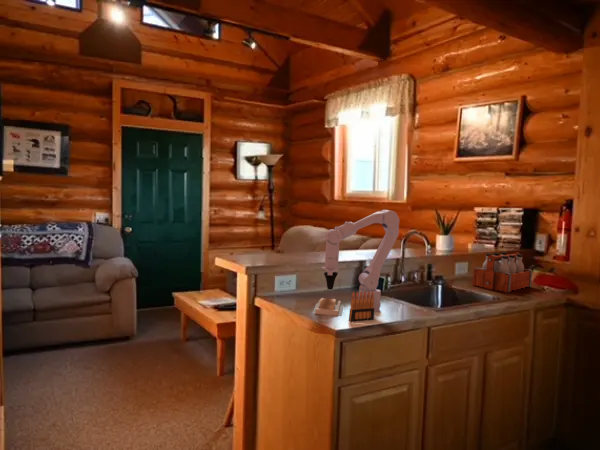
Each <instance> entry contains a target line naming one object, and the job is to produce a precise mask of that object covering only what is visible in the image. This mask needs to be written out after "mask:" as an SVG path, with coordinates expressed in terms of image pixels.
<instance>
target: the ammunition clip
mask: <svg viewBox="0 0 600 450" xmlns="http://www.w3.org/2000/svg"><path fill="white" fill-rule="evenodd" d="M362 297H363V301H362ZM374 320H375V311H374V292H373V291H372V293H371V299H370V292H369V291H368V294H367V300H366V291H365V292H364V295H363V296H362V291H361V292H360V297H359V290H358V291H356V293H355V291H353V292H352V294H351V301H350V308H349V316H348V321H349V322H350V323H351V322H354V323H355V322H364V321H374Z"/></svg>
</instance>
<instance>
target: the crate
mask: <svg viewBox="0 0 600 450" xmlns="http://www.w3.org/2000/svg"><path fill="white" fill-rule="evenodd" d="M320 299H321V300H320ZM320 299H319V300H320V309H331V310H335V305H337V304H336V302H337V301H336V300H337V299H335V298H327V297H325V298H324V297H321V298H320Z"/></svg>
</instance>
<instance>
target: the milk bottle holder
mask: <svg viewBox="0 0 600 450" xmlns="http://www.w3.org/2000/svg"><path fill="white" fill-rule="evenodd" d="M472 274H473V277H472V280H471V285H472V286H474V287H478V286H479V288H483V287H484V288H483V289H488V290H493V289H494V290H493V291H498V290H499V291H498V292H502V291H503V292H504V293H507V292H508V293H510V292H512V290H514V291H518V290H522V289H521V288H523V289H526V288H525V287H530V288H532V284H533V283H532V282H533V270H532V269H529V268H528V269H527V268H525V265H524V263H523V254H521V253H520V252H518V251H517V252H515V251H514V253H511V254H507V251H505V252H504V251H501V254H500V252H493V254H492V253H486V256H485V261H484V262H483V263H482V267H474V268H473V273H472ZM517 289H518V290H517Z"/></svg>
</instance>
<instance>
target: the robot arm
mask: <svg viewBox="0 0 600 450" xmlns="http://www.w3.org/2000/svg"><path fill="white" fill-rule="evenodd" d="M372 224H381V225H382V228H383V229H384V232H385V234H384V236H383V238H382V240H381V241H380V244H379V246H378V248H377V249H376V251H375V253H374V255H373V257H372V259H371V260H370V263H369V264H368V265H367V266H366V267H365V268H364V270H363V272H361V273H360V274H359V276H358V283H359V284H360V285H359V289H358V294H359V297H360V292H361V291H362V296H363V295H364V292H365V291H366V300H367V294H368V291H369V292H370V299H371V293H372V291H373V292H374V312H376V313H379V312H380V308H381V306H382V305H381V304H382V303H381V296H382V295H381V289H377V288H378V286H379V279H380V278H381V270H382V268H383V266H384V263H385V262H386V260H387V258H388V256H389V254H390V252H391V250H392V248H393V247H394V245H395V244H396V241H397V240H398V237H399V234H400V218H399V215H398V213H397V212H396V211H394V210H389V209H381V210H380V211H375V212H374V213H372V214H370V215H367V216H365V217H363V218H361V219H359V220H357V221H355V222H352V221H345V222H344V223H343V224H342V225H339V226H335V227H334V229H328V230H327V231H326V233H325V235H324V238H325V240H326V242H325V244H326V245H325V252H324V253H325V256H324V257H325V258H324V266H321V269H322V270H324V273H323V275H324V277H325V281H326V288H327V290H329V291H330V290H332V291H333V289H334V286H335V285H334V284H335V281H336V278H337V276H338V274H339V273H338V272H339V256H340V243H341V241H342V240H345V239H347V238H349V237H351V236H355V235H356V234H357V232H358V230H361V229H363V228H364V227H367V226H370V225H372ZM362 301H363V297H362Z"/></svg>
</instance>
